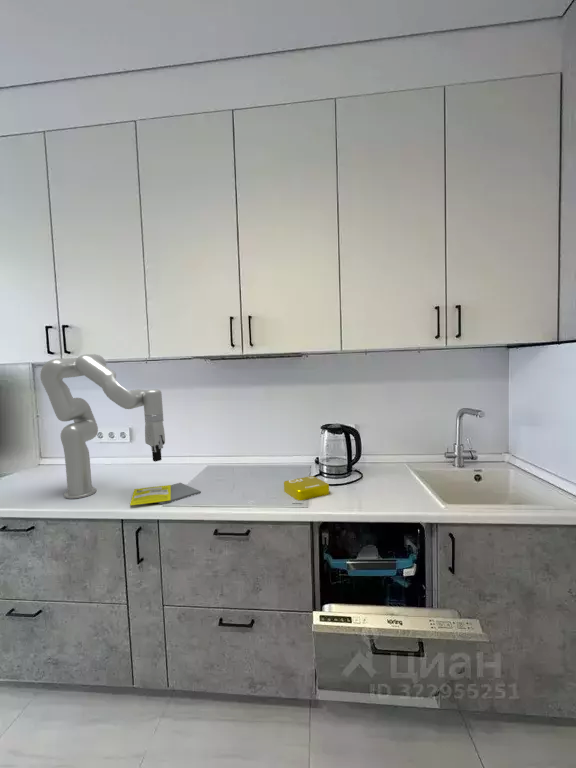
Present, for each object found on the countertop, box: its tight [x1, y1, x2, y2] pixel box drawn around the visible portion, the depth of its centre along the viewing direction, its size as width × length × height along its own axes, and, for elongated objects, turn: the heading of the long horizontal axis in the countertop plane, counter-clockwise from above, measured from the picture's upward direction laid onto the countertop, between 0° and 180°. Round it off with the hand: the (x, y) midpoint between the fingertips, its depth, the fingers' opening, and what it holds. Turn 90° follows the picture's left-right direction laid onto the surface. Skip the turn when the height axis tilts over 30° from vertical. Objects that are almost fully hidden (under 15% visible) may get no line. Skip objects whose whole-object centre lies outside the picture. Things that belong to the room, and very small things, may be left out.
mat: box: [155, 482, 202, 506], centre depth 172 cm, size 18×18×1 cm
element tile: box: [283, 475, 330, 502], centre depth 167 cm, size 15×15×5 cm
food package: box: [129, 484, 172, 506], centre depth 169 cm, size 15×1×20 cm
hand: (157, 460), depth 173 cm, fingers closed
